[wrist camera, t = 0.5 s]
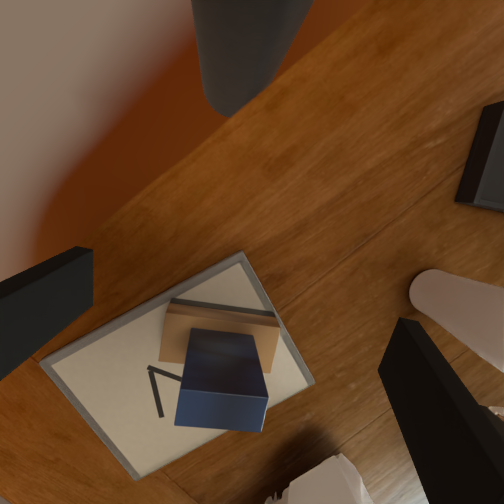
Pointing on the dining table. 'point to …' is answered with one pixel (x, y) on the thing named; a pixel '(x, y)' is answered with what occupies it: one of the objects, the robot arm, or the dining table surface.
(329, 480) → the tissue box
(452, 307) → the drinking glass
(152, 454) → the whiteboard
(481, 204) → the tray
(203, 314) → the blue block with base
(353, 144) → the dining table surface
